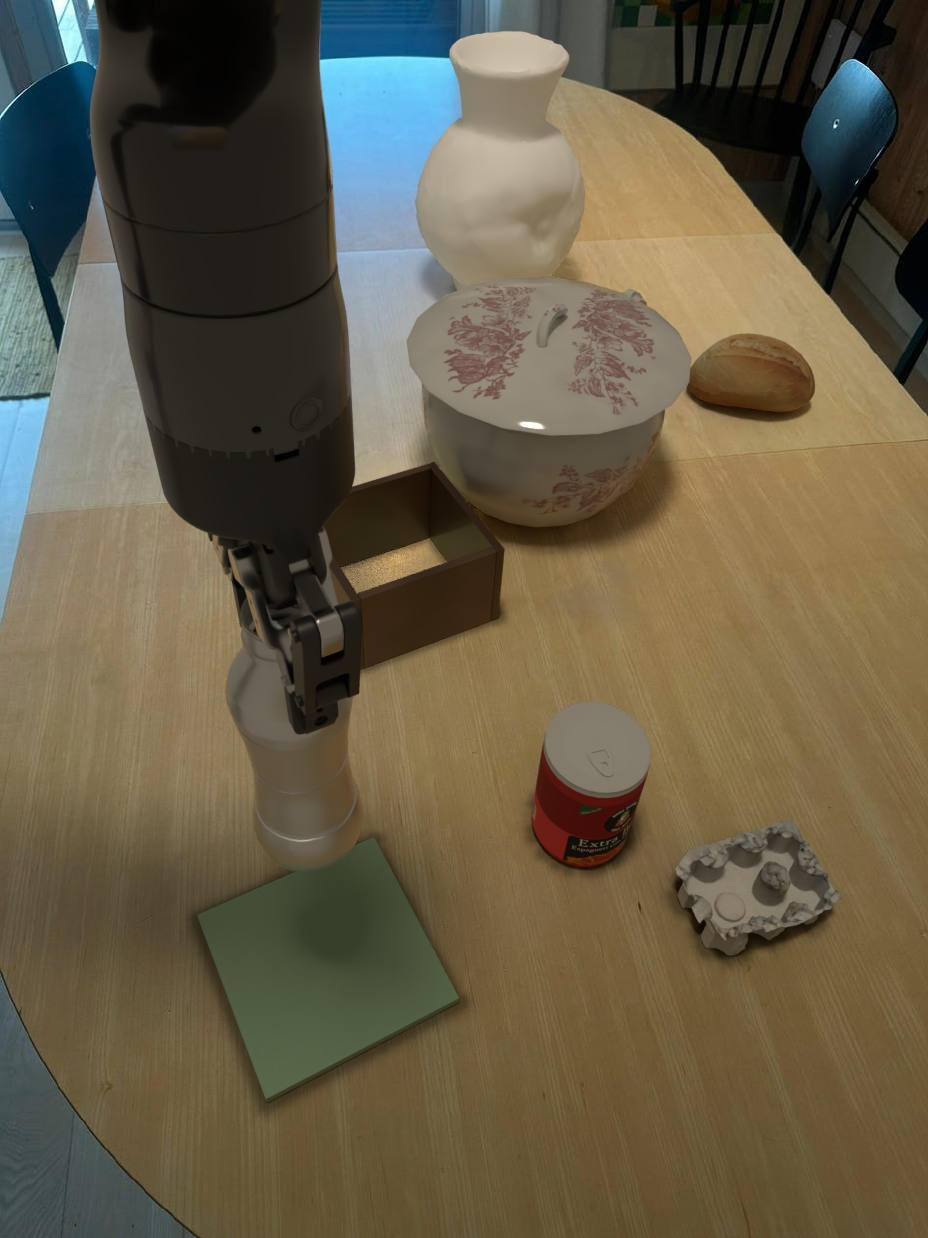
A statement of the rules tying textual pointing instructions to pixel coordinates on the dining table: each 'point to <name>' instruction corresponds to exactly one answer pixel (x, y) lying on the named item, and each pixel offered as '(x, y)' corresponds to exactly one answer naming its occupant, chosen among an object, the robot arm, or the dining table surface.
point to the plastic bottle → (292, 763)
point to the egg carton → (754, 885)
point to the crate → (428, 597)
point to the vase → (502, 166)
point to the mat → (324, 967)
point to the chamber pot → (545, 393)
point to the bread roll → (753, 374)
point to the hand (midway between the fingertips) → (288, 673)
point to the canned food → (589, 782)
